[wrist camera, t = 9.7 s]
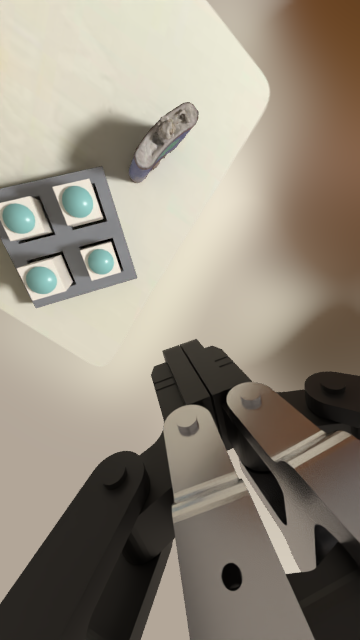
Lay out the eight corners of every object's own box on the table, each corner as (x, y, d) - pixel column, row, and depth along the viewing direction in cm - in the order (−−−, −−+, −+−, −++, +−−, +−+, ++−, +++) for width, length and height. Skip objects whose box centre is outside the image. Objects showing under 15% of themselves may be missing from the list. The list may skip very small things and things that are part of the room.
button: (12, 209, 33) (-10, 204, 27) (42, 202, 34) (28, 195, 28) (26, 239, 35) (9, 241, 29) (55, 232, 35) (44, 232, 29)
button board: (-11, 196, 32) (-22, 193, 30) (102, 171, 35) (102, 166, 32) (41, 302, 38) (35, 308, 35) (135, 274, 40) (137, 278, 38)
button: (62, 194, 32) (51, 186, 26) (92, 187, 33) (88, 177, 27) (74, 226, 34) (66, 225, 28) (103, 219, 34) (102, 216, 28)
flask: (136, 187, 36) (146, 170, 26) (122, 169, 35) (126, 144, 25) (182, 142, 36) (209, 108, 26) (169, 122, 35) (192, 79, 25)
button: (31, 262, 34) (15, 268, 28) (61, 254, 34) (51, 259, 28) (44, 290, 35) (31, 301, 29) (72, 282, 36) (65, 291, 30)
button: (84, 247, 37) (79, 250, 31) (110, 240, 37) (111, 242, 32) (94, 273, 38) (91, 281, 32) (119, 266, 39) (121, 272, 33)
